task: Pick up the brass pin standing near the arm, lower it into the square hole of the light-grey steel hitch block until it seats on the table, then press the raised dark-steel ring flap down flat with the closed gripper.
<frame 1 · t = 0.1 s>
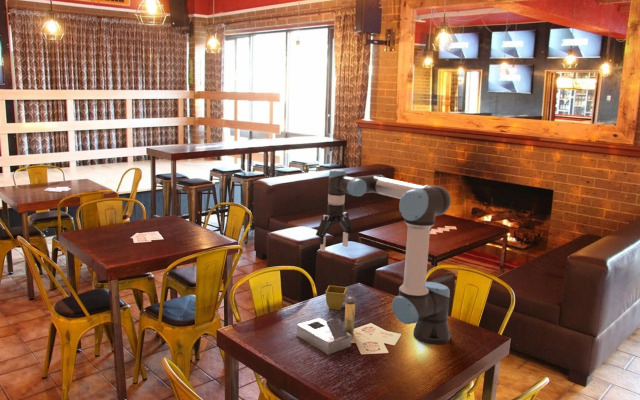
hand: (333, 248, 261), 28 cm above the table, fingers open, 13 cm apart
flower pot: (335, 308, 265), on the table
ring flap: (337, 329, 222), point 8 cm above the table, hinge at 45.0°
hitch block: (323, 341, 230), on the table
lynch pin: (348, 333, 238), on the table
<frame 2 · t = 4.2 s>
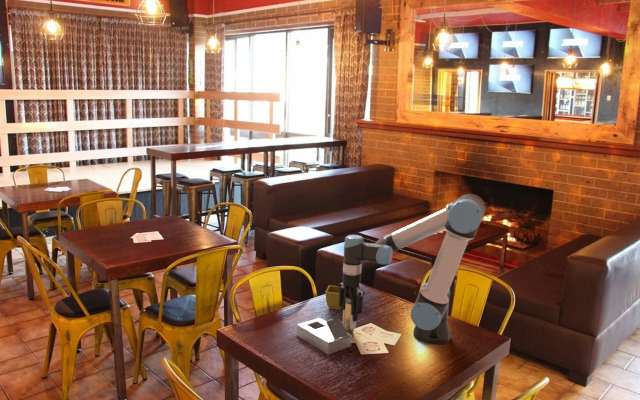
hand: (349, 325, 237), 4 cm above the table, fingers closed on lynch pin, 4 cm apart
lynch pin: (348, 333, 238), on the table, touching gripper
everything else where it was.
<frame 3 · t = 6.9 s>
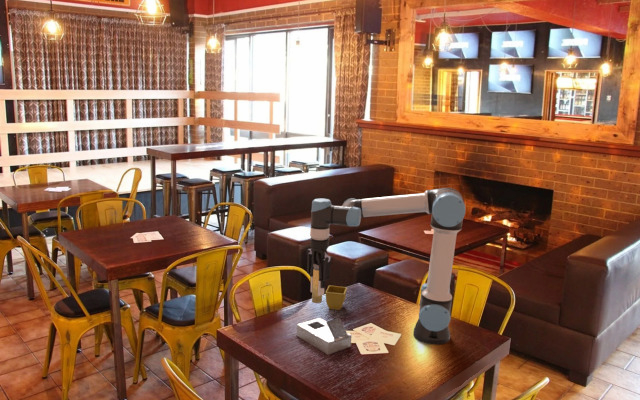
hand: (317, 293, 230), 19 cm above the table, fingers closed on lynch pin, 4 cm apart
lynch pin: (316, 301, 231), point 15 cm above the table, touching gripper
everything else where it was.
when the fingers open (7 cm above the table, at t = 9.6 s): lynch pin drops 3 cm, resting in hitch block.
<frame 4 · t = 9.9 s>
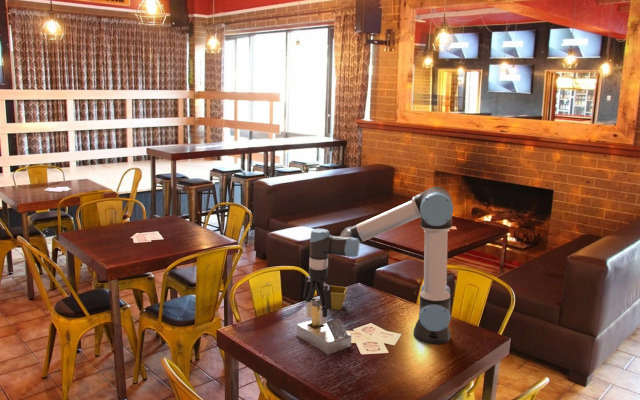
hand: (316, 320, 233), 7 cm above the table, fingers open, 8 cm apart
lynch pin: (315, 336, 234), resting in hitch block
everything else where it was.
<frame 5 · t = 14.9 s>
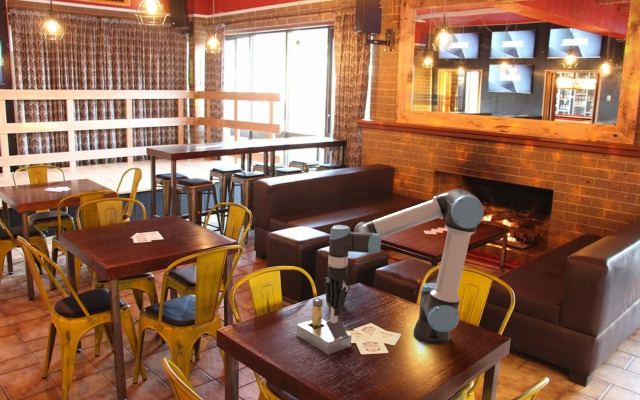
hand: (333, 322, 224), 11 cm above the table, fingers closed
ring flap: (337, 330, 223), point 8 cm above the table, hinge at 42.2°, touching gripper
everything else where it was.
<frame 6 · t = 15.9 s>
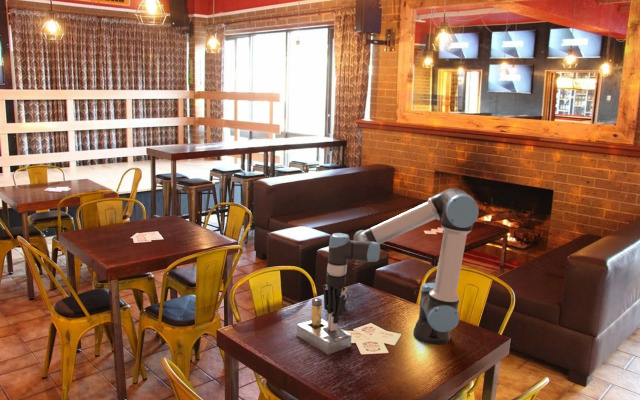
hand: (332, 329, 225), 7 cm above the table, fingers closed, pressing on ring flap
ring flap: (335, 333, 224), point 6 cm above the table, hinge at 14.1°, touching gripper
everything else where it was.
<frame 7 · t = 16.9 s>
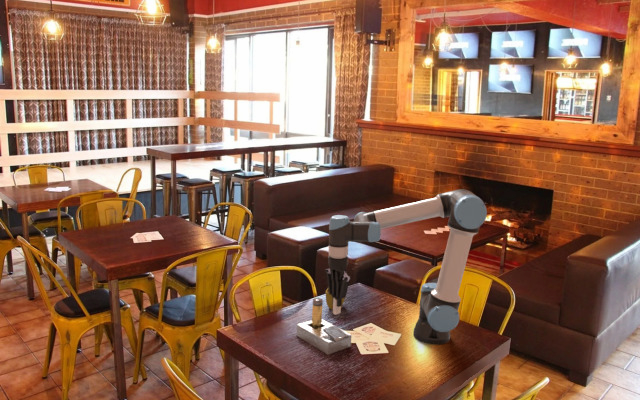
hand: (336, 313, 222), 14 cm above the table, fingers closed
ring flap: (335, 333, 224), point 6 cm above the table, hinge at 10.8°
everything else where it was.
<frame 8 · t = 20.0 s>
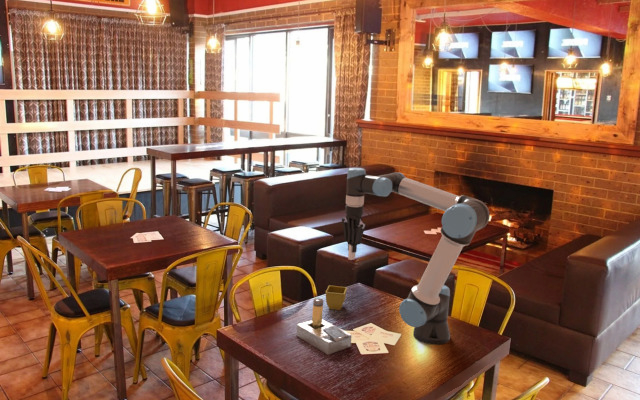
hand: (351, 258, 242), 29 cm above the table, fingers closed
nothing on the table moved.
at the end: lynch pin 0.1 cm from the target spot on the hitch block, point 0.0 cm above the hitch block's base; lynch pin tilted 2°; ring flap at +11° (first picture: +45°) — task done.
